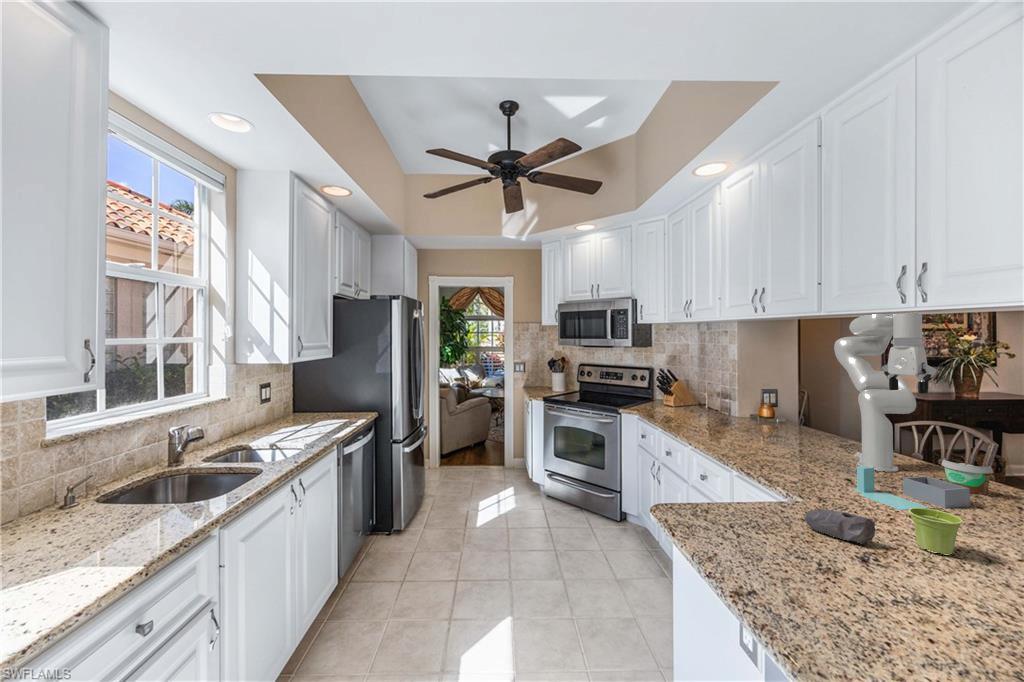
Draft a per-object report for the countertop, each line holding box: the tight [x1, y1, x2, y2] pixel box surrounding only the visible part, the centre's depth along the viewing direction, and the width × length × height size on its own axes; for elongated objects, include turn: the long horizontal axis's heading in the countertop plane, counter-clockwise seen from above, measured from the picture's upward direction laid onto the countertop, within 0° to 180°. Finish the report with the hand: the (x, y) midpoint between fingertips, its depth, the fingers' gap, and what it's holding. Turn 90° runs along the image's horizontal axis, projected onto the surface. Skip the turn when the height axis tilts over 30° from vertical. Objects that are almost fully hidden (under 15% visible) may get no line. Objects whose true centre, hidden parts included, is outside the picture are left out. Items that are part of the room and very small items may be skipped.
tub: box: [902, 475, 971, 509], centre depth 135 cm, size 12×9×6 cm
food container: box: [941, 457, 994, 497], centre depth 143 cm, size 12×6×10 cm, turn 25°
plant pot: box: [908, 508, 963, 555], centre depth 105 cm, size 9×9×9 cm
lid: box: [853, 465, 930, 511], centre depth 137 cm, size 17×10×9 cm, turn 8°
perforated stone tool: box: [803, 509, 877, 545], centre depth 112 cm, size 15×5×7 cm, turn 37°
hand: (908, 391), depth 151 cm, fingers open, 9 cm apart
